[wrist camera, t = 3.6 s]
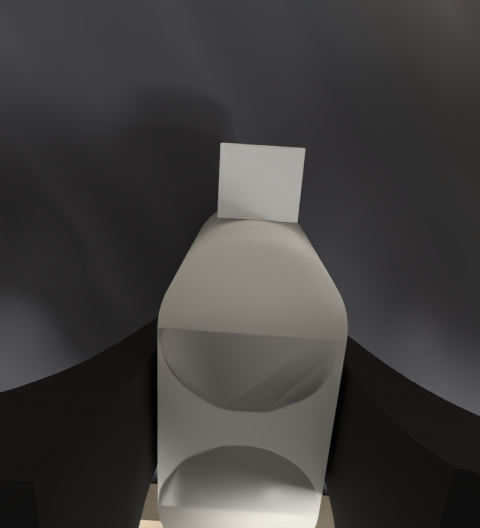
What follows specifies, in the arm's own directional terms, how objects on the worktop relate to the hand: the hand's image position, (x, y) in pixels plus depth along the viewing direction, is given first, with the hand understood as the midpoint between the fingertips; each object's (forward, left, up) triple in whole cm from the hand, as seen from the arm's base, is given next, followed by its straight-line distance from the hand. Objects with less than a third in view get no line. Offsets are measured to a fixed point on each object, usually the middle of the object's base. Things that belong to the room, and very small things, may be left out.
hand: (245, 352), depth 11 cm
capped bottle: (0, 0, -2) cm, 2 cm away
